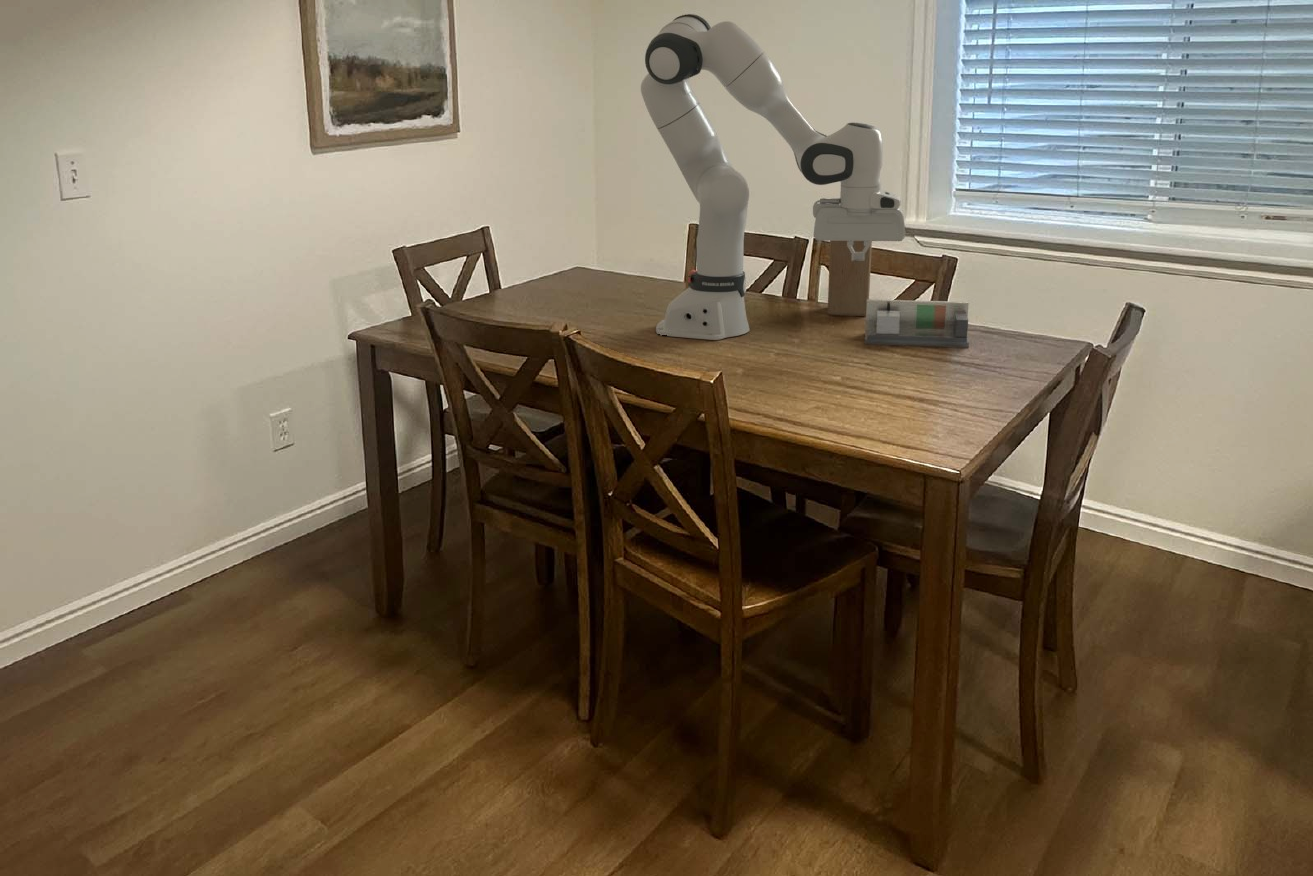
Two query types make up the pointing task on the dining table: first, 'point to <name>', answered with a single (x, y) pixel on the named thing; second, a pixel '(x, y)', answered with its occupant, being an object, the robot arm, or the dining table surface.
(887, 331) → the gauge carriage
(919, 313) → the bench
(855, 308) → the wooden block
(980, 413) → the dining table surface
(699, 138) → the robot arm
